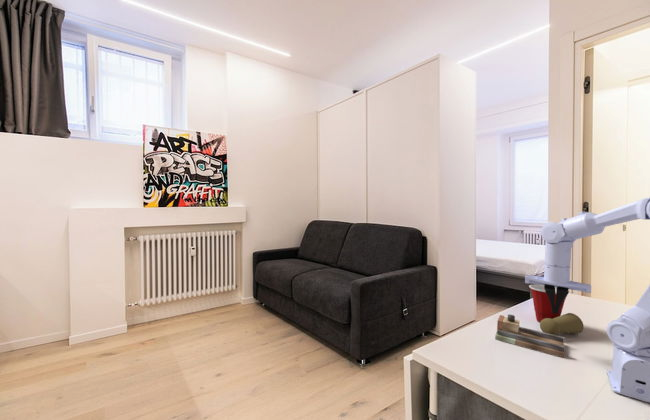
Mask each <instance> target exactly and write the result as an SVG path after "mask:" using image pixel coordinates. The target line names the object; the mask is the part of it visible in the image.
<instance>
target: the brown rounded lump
mask: <svg viewBox="0 0 650 420" xmlns="http://www.w3.org/2000/svg"><path fill="white" fill-rule="evenodd" d="M584 327H585V325H584V323H583V321H582V319H581V318H580V317H579V316H578V315H576V314H575V313H573V312H567V313H564V314H561V316H559V317H556V318H553V319H550V318H545V319H543V320H541V322H540V323H539V328H540V330H541V332H544V333H548V334H553V335H557V336H559V335H561V334H562V335H563V334H581V333H582V332H583V331H584Z"/></svg>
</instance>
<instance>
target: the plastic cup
mask: <svg viewBox="0 0 650 420" xmlns="http://www.w3.org/2000/svg"><path fill="white" fill-rule="evenodd" d="M528 287H529V289H530V291H531V295H532V300H533V302H532V303H533V309H534V313H535V319H536V321H537V323H539V324H540V322H541V320H543V319H545V318H550V319H553V318H556V317H559V316H561V315H562V313H563V312H562V311H563V309H564V305H565V301H566V299H567V297H568V295H567V296H566V297H565V299H564V300H563V302H562V304H561V306H560V308H559V311H558V314H556V313H552V308H551V304H550V301H549V298H548V296H547V294H546V292H545V289H544V285H538V284H529V285H528ZM556 289H557V287H555V303H556Z"/></svg>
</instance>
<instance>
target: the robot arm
mask: <svg viewBox="0 0 650 420" xmlns="http://www.w3.org/2000/svg"><path fill="white" fill-rule="evenodd" d="M640 219H642V220H650V196H649V197H644V198H642V199H639V200H635V201H633V202H630V203H628V204H624V205H621V206H619V207H616V208H613V209H611V210H610V209H609V210H607V211H603V212H602V213H599V214H597V213H594V212H591V211H590V212H587V211H580V212H577V215H576V216H572V217H569V218H566V217H565V218H564V217H563V218H561V219H560V221H559V222H554V221H548V222H547V223H545V224H544V225H543V226H542V227H541V230H540V235H541V238H542V239H543V241H545V247H544V249H545V250H544V268H543V269H544V270H543V276H536V275H524V276H525V277H524V284H529V285H530V284H531V285H544V289H545V292H546V294H547V296H548V298H549V301H550V304H551V308H552V313H556V314H558V311H559V308H560V306H561V304H562V302H563V300H564V299H565V297H566V296H567V297H568V295H569V293H570V290H572V291H578V292H585V293H587V294H591V293H592V285H591V284H590V283H583V282H578V281H573V280H570V278H571V265H572V264H571V263H572V262H571V261H572V248H573V247H574V243H575V241H577V240H580V239H584V238H588V237H593V236H596V235H601V234H602V233H603V232H604V230H605V228H606V227H609V226H610V227H611V226H614V225H615V226H616V225H619V224H622V223H623V224H624V223H627V222H633V221H637V220H640ZM555 287H557V289H556V303H555ZM567 297H566V298H567ZM565 300H566V299H565ZM606 333H607V336H608V338H609V340H610V341H611V342H612V346H613V350H612V351H613V352H612V366H611V370H609V369H607V370H606V373H607V377H608V380H609V383H610V386H611V390H612V392H614V393H617V394H619V395H623V396H627V397H629V398H633V399H636V400H640V401H641V402H642V401H643V402H646V403H650V284H649V285H648V287H646V289H645V291H644V292H643V294H642V295H641V297H640V298H639V300H637V303H636V304H635V305H634V306H632V307H631V308H629V309H627V310H626V311H624V312H623V313H622V314H621V315H620V317H618V318H617V319H615V320H611V321H610V322H609V323H608V324H607V326H606Z"/></svg>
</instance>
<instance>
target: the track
mask: <svg viewBox="0 0 650 420" xmlns="http://www.w3.org/2000/svg"><path fill="white" fill-rule="evenodd" d="M504 317H505V315H499V317H498V319H497V324H496V325H497V327H496V328H497V329H496V333H495V334H494V335H495V336H494V339H495V340H497V341H500V342H504V343H508V344H512V345H515V346H519V347H521V348H522V347H523V348H525V349H526V348H527V349H530V350H534V351H538V352H540V353H545V354H548V355H552V356H555V357H559V358H563V359H565V341H564V340H565V338H564V337H563V336H561V335H553V334H548V333H544V332H542V331H540V330H535V329H531V328H528V327H527V328H526V327H524V326H519V334H514V333H510V332H506V331H502V322H503V319H504Z"/></svg>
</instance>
